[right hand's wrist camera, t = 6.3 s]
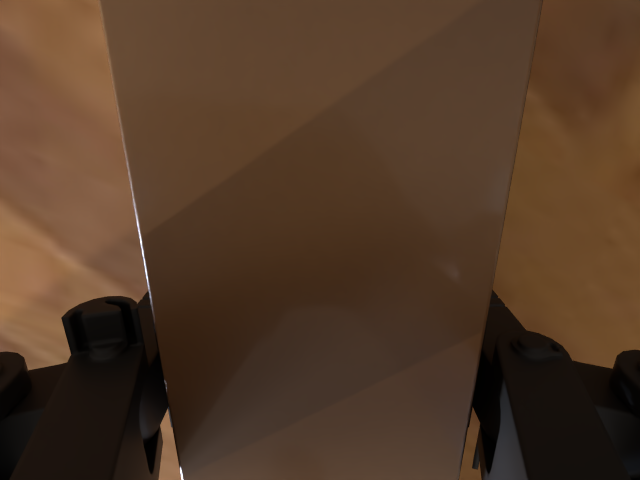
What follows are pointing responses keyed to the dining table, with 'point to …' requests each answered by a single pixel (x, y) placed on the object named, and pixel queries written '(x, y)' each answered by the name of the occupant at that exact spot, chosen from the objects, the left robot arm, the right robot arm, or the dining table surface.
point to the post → (320, 221)
